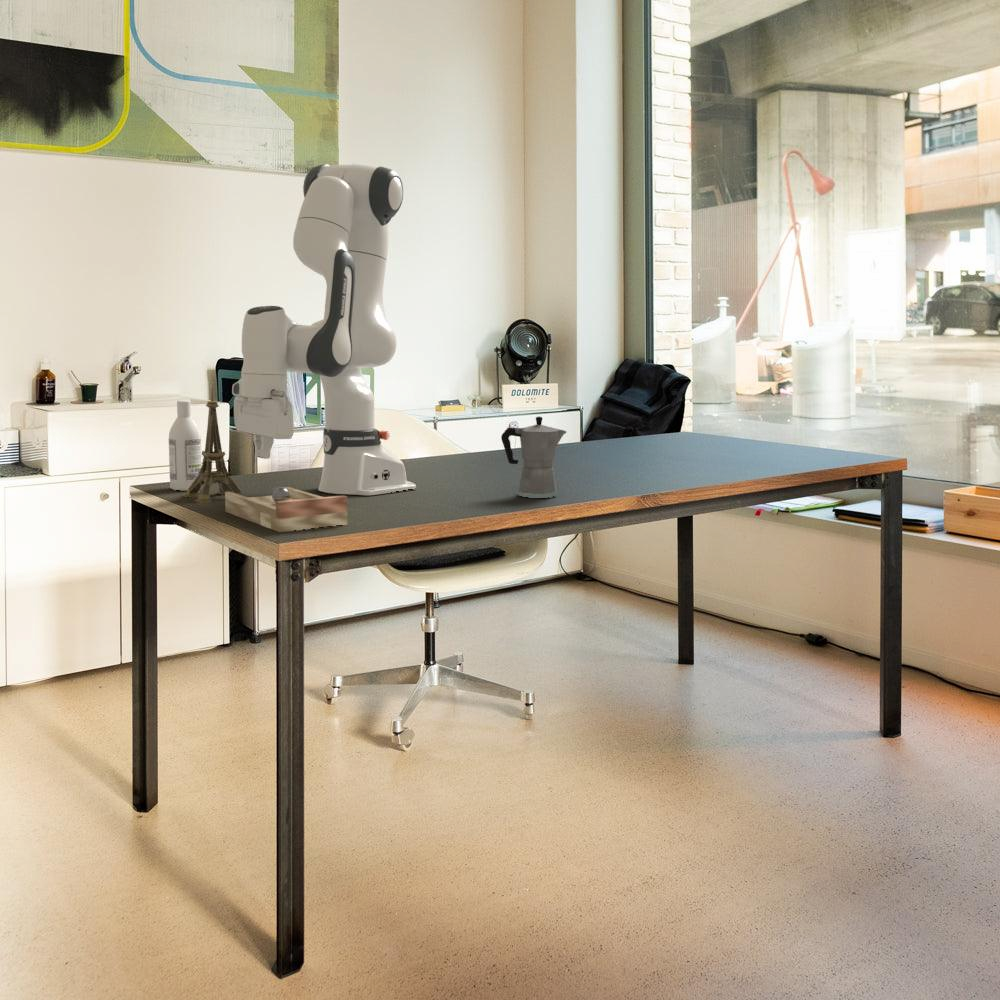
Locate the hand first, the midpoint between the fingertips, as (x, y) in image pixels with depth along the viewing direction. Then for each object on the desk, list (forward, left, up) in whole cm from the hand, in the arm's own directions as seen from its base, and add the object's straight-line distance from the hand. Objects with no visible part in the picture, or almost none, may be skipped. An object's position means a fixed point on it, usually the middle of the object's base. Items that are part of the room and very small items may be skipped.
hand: (263, 458), depth 217 cm
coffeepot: (-61, +11, -11) cm, 63 cm away
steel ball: (-1, +7, -7) cm, 10 cm away
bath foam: (+2, -36, -11) cm, 38 cm away
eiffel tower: (+1, -22, -11) cm, 25 cm away
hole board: (-1, +9, -11) cm, 14 cm away
